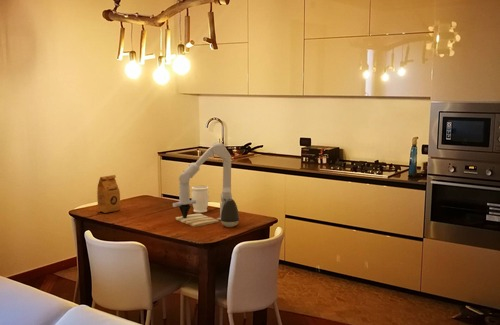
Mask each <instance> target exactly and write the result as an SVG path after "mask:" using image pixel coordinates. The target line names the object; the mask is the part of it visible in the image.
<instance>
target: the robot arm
mask: <svg viewBox="0 0 500 325" xmlns="http://www.w3.org/2000/svg"><path fill="white" fill-rule="evenodd" d="M215 156H217V157H218V158H220V159H221V160H222V161H223V163H222V192H221V194H220V201H221V202H220V203H219V214H220V215H219V217H217V218H216V219H217V220H219V221H221V211H222V208H223V205H224V203H225V201H224V199H226V200H227V199H233V195H232V193H231V190H232V187H231V186H232V184H231V182H232V155H231V154H230V152H229V150H227V147H226V146H225V145H224V144H223V143H221V142H215V143H214V144H212V146H210V147H209V148H208V149H207V150H206V151H204V153H203V154H202V155H201V156H200V157H199V158H198V159H197V160H196V162H191V163H189V164H188V165H187V167H186V168H185V170H183V171H182V173H181V174H179V177H178V181H179V187H178V190H179V194H178V195H179V196H178V197H179V201H177V202H172V207H173V208H176V207H178V208H179V210H180V212H181V215H182V216H183V218H187V215H189V211H190V209H191V207H192V206H191V205H193V204H196V200H192V199H191V198H190V197H191V196H190V195H191V193H190V192H191V191H190V190H191V188H190V180H191V179H192V178H193V177H194V176H195V175H196V174H197V173H198V172H199V171H200V166H202V164H204V163H205V162H206V161H207V160H208V159H209V158H210V157H211V158H212V157H215Z"/></svg>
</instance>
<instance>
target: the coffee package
mask: <svg viewBox="0 0 500 325" xmlns="http://www.w3.org/2000/svg"><path fill="white" fill-rule="evenodd" d="M116 178H117V177H116V174H112V175H107V176H100V177H99V180H98V183H97V191H96V192H97V193H96V194H97V196H96V198H97V199H96V200H97V212H98V213H104V214H106V213H113V212H114V213H115V212H119V211H121V207H122V206H121V192H120V187H119V185H118V184H117V180H116Z"/></svg>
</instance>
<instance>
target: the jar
mask: <svg viewBox="0 0 500 325" xmlns="http://www.w3.org/2000/svg"><path fill="white" fill-rule="evenodd" d="M209 187H210V186H206V185H195V186H191V188H190V189H191V190H192V191H191V200H196V204H192V207H193V212H194V213H196V214H197V213H200V214H202V213H206V212H208V209H207V208H208V206H209V199H210V194H209Z"/></svg>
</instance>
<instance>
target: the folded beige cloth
mask: <svg viewBox="0 0 500 325" xmlns="http://www.w3.org/2000/svg"><path fill="white" fill-rule="evenodd" d="M216 223H220V220H219V219H217V218H214V217H211V216H208V217H207V218H202V219H196V220H191V221H186V223H185V224H186V225H189V226H191V227H193V228H194V227H195V228H196V227H201V226H207V225H211V224H216Z"/></svg>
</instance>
